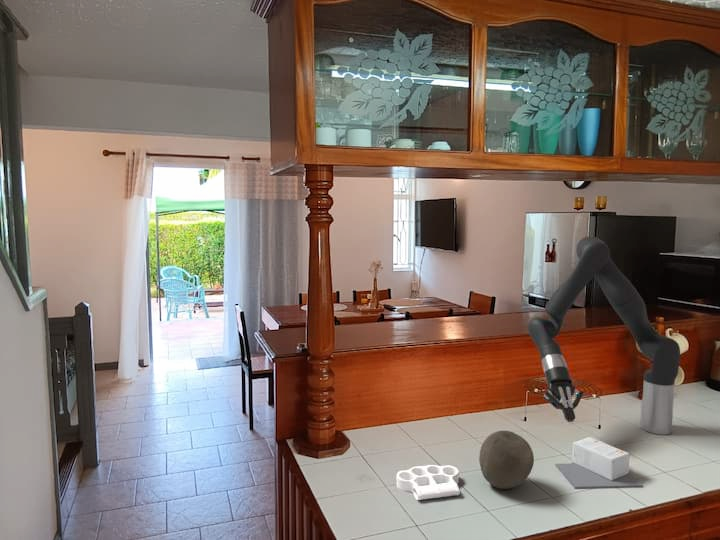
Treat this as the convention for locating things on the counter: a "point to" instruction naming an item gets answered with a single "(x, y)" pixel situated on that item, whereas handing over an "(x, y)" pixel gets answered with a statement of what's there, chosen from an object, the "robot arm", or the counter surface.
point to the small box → (601, 458)
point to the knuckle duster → (429, 481)
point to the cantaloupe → (505, 459)
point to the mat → (594, 478)
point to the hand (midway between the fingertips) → (571, 420)
